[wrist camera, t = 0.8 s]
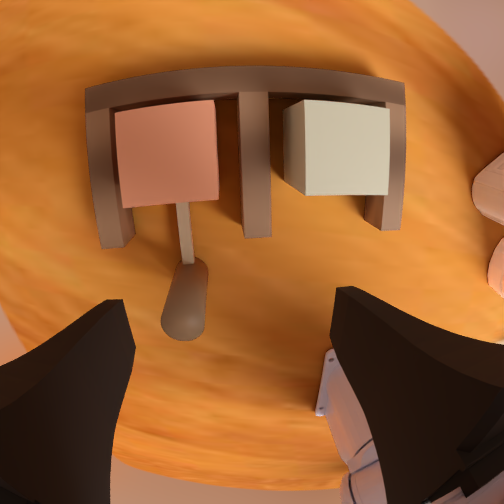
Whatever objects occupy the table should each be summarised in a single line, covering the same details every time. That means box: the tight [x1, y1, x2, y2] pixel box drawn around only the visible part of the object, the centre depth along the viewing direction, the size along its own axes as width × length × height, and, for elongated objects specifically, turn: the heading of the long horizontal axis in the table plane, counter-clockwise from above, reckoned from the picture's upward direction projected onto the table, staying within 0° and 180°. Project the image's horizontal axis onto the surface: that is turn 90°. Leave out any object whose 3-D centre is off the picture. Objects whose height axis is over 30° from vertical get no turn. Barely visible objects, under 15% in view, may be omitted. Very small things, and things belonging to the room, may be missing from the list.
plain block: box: [282, 100, 390, 196], centre depth 15 cm, size 4×4×5 cm
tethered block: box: [115, 100, 219, 341], centre depth 15 cm, size 11×4×6 cm, turn 2°
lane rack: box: [85, 66, 406, 249], centre depth 16 cm, size 10×18×2 cm, turn 92°
